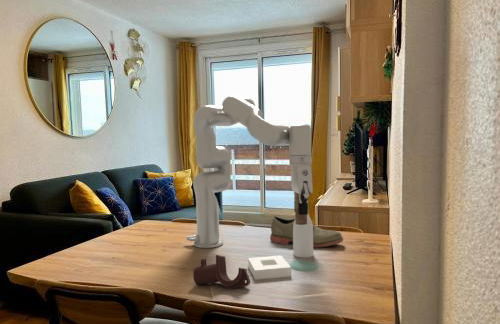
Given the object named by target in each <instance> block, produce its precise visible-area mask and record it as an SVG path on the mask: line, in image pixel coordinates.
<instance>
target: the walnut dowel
mask: <svg viewBox="0 0 500 324" xmlns="http://www.w3.org/2000/svg"><path fill="white" fill-rule="evenodd" d="M301 194H304V192H302V193H301ZM303 196H304V195H303ZM301 197H302V196H301ZM294 201H295V211H294V212H295V215H294V216H295V217H294V219H295V224H298V225H305V224H307V214H306V215H299V212H298V203H299V194H298V193H296V192H295V200H294Z"/></svg>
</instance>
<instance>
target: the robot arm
mask: <svg viewBox="0 0 500 324" xmlns="http://www.w3.org/2000/svg"><path fill="white" fill-rule="evenodd" d="M262 117H263V113H262V110H261V109H260V108H259V107H257V106H256V104H255V102H254V100H253V99H252V98H250V97H247V96H241V95H228V96H226V97H225V98H224V99H223V101H222V104H221V105H214V104H208V105H207V104H206V105H202V106H200V107H198V108H197V110H196V111H195V114H194V115H193V128H194V132H195V133H194V134H195V159H196V164H197V166H198V168H200V169H213V170H209V171H208V170H207V171H203V172H199V173H197V174H196V175H195V176H194V179H193V181H192V184H193V185H192V186H193V190H194V194H195V195H194V196H195V207H196V208H195V209H196V233H195V234H194V235H186V241H189V242H193V245H194V247H196V248H200V249H212V248H218V247H221V245H223V243H224V240H223V239H222V238H220V220H219V219H220V217H219V216H220V215H219V214H220V212H219V202H218V198H217V196H216V195H215V193H220V192H225V191H227V190H228V189H229V188H230V185H231V181H232V180H231V177H232V175H231V174H232V173H231V172H232V171H231V170H232V169H231V154H230V153H229V150H228V149H227V148H226V147H225V146H220V145H217V141H216V139H217V137H216V133H215V131H214V130H213V128H212V127H231V126H233V125H237V124H241V125H242V126H244V127H245V128H246V129H247V130H246V131H248V133H249V135H250V136H251V137H252V138H254V139H255V140H257V141H259V142H260V143H262V144H263V145H266V146H268V147H278V146H279V147H286V146H288V149H289V150H288V151H289V152H288V156H289V159H288V160H289V163H288V164H289V166H291V168H290V169H291V176H290V178H291V179H290V182H291V184H290V185H291V188H290V189H291V190H292V191H293V192H294V193H293V199H294V201H293V205H294V206H293V207H294V208H293V209H294V212H295V192H296V193H298V194H299V203H298V212H299V215H306V214H308V213H309V210H308V205H309V197H310V194H311V195H312V194H313V191H314V190H313V189H314V188H313V173H312V172H313V171H312V167H311V165H312V127H311V125H310V124H305V123H299V124H297V123H296V124H295V123H294V124H292V125H290V124H273V123H270V122H269V121H267V120H265V119H264V118H262ZM302 192H304V194H301V193H302ZM303 195H304V196H303ZM301 196H302V197H301Z"/></svg>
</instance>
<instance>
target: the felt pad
mask: <svg viewBox="0 0 500 324" xmlns="http://www.w3.org/2000/svg"><path fill="white" fill-rule="evenodd" d="M289 265H290V267H291V270H295V271H298V272H311V271H315V270H317V269H319V265H318V263H316V262H315V261H309V260H296V261H291V262H290V263H289Z"/></svg>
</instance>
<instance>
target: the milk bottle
mask: <svg viewBox="0 0 500 324" xmlns="http://www.w3.org/2000/svg"><path fill="white" fill-rule="evenodd" d="M309 208H310V205H309V204H308V211H310V209H309ZM313 225H314V224H313V221H312V219H311V216H310V213H309V212H308V214H307V224H305V225H298V224H295V221H294V224H293V242H292V247H293V248H292V249H293V250H292V252H293V256H295V257H296V258H297V257H298V258H306V259H307V258H310V257H313V256H314V247H313Z"/></svg>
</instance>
